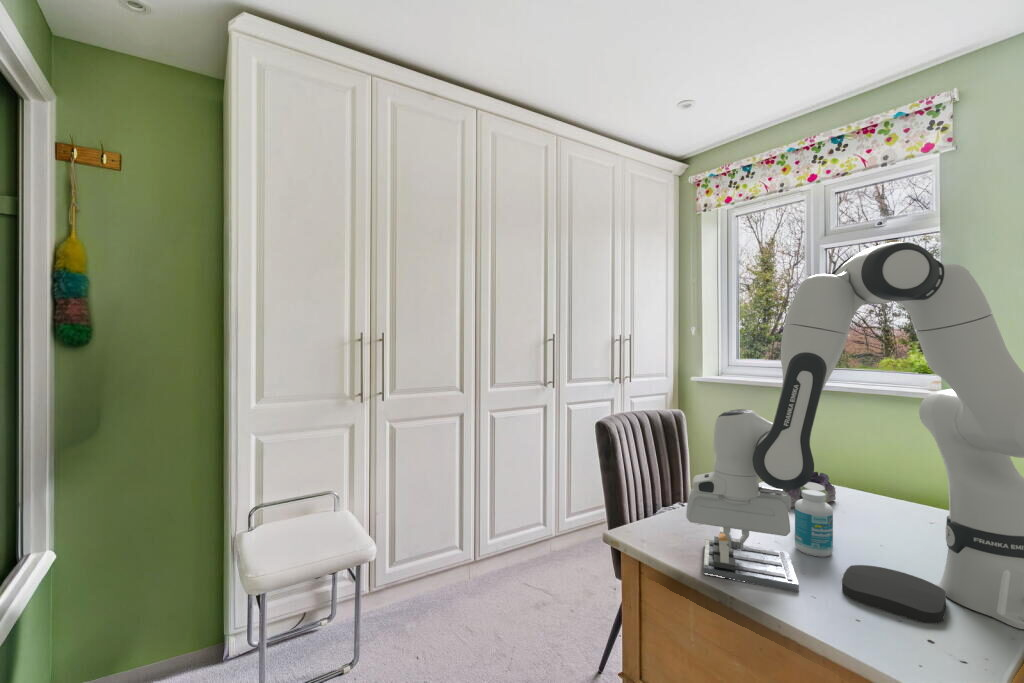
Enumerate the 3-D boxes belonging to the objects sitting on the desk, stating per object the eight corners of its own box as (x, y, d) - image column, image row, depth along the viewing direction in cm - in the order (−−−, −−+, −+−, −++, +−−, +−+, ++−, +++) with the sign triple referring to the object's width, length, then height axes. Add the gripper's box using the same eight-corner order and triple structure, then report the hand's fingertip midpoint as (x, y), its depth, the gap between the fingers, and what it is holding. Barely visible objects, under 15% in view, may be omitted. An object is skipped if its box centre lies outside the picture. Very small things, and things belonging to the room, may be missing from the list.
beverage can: (817, 525, 123) (817, 479, 123) (834, 536, 116) (833, 488, 116) (792, 524, 124) (792, 479, 124) (807, 535, 117) (806, 487, 117)
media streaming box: (837, 598, 88) (837, 582, 88) (853, 572, 99) (853, 557, 99) (942, 631, 78) (942, 613, 78) (947, 598, 88) (947, 582, 88)
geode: (813, 516, 131) (807, 479, 132) (772, 509, 140) (766, 476, 141) (844, 499, 142) (838, 466, 143) (804, 494, 152) (798, 463, 153)
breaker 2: (734, 562, 98) (734, 546, 98) (735, 570, 95) (735, 553, 95) (714, 559, 100) (713, 542, 100) (713, 566, 96) (713, 549, 96)
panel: (787, 558, 104) (787, 551, 104) (798, 592, 90) (798, 583, 90) (705, 545, 111) (705, 538, 111) (703, 574, 97) (703, 566, 97)
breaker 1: (733, 543, 108) (733, 528, 108) (733, 549, 104) (733, 533, 104) (714, 540, 109) (714, 525, 109) (714, 546, 106) (714, 531, 106)
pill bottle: (815, 560, 103) (814, 498, 103) (787, 546, 110) (786, 489, 111) (841, 556, 105) (840, 495, 105) (812, 542, 112) (811, 486, 113)
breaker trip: (733, 552, 103) (732, 534, 103) (733, 559, 100) (733, 541, 100) (713, 549, 105) (713, 531, 105) (713, 555, 101) (713, 537, 101)
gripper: (789, 486, 100) (789, 551, 100) (687, 475, 108) (687, 535, 108) (793, 494, 94) (793, 563, 94) (685, 482, 102) (685, 545, 102)
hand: (735, 548), depth 101 cm, fingers closed
